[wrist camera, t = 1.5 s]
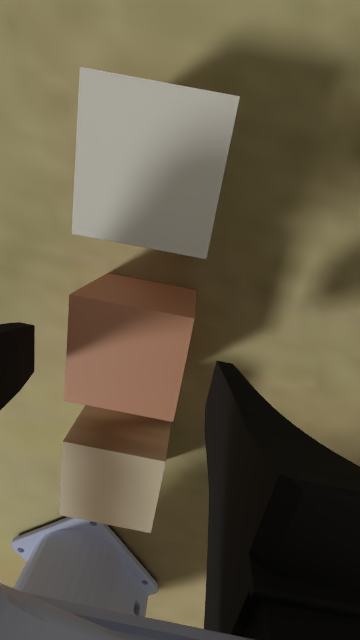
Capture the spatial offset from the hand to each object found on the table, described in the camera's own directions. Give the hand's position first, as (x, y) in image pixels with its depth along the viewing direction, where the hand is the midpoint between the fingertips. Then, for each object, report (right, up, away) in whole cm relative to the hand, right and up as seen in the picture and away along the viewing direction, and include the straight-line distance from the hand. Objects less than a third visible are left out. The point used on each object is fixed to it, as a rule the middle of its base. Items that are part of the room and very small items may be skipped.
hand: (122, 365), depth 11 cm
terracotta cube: (0, +2, +5) cm, 5 cm away
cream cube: (+2, +8, +3) cm, 9 cm away
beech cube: (-1, -5, +7) cm, 9 cm away
